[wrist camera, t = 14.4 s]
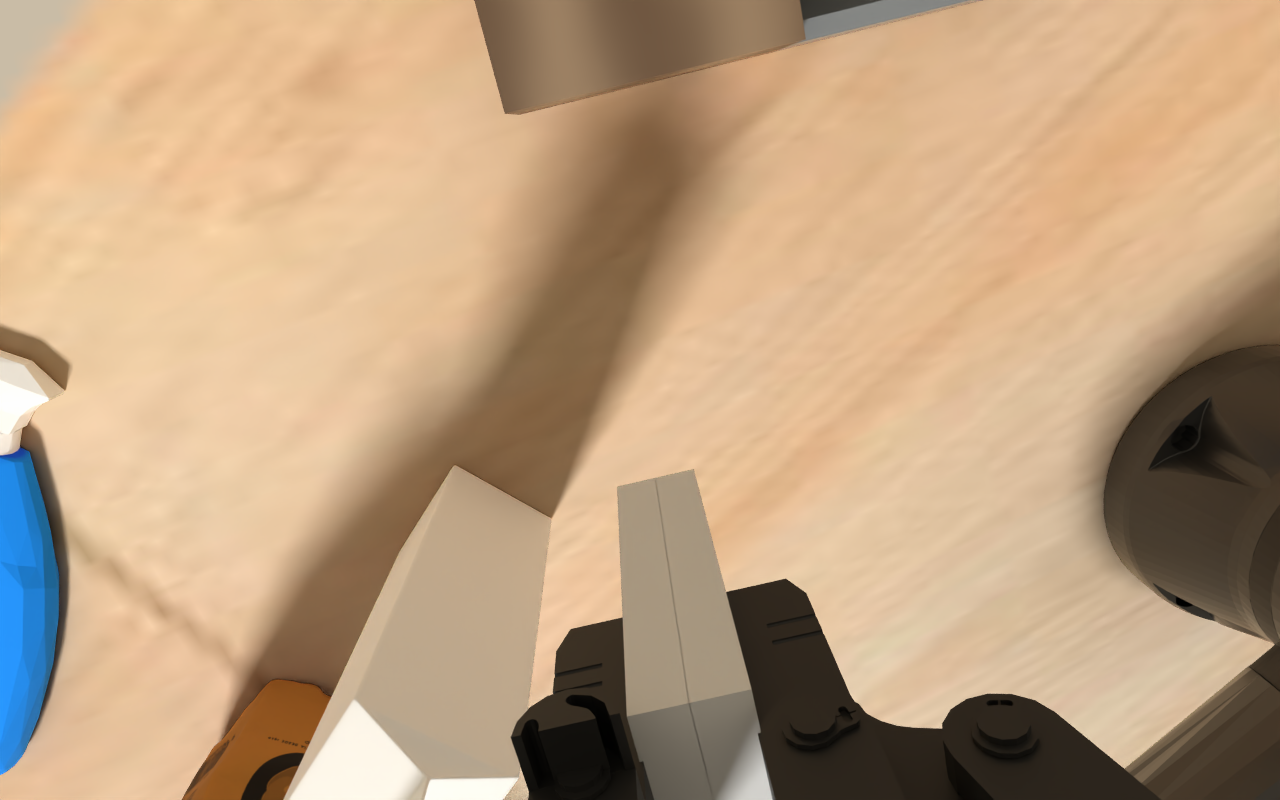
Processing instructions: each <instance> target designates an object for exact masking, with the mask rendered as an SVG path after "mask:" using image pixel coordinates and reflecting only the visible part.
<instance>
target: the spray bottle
mask: <svg viewBox="0 0 1280 800" xmlns="http://www.w3.org/2000/svg"><path fill="white" fill-rule="evenodd" d="M64 391H65V390H64V389H62V388H61V387H60V386H59V385H58V384H57V383H56V382H55V381H54V380H53V379H51V378H50V377H49V376H48V375H47V374H46V373H45V372H44V371H43V370H42V369H40V368H39V367H38V366H37V365H36V364H35V363H34V362H33V361H31V360H28V359H25V358H22V357H19V356H16V355H14V354H11V353H8V352H5V351H2V350H0V775H1V774H3V773H5V772H7V771H8V770H9V769H11V768H12V767H13V766H14V765H15V764H16V763H17V762H18V761H19V759H20V758H21V757H22V756H23V754H24V752H25V750H26V748H27V745H28V743H29V740H30V738H31V735H32V733H33V730H34V728H35V725H36V723H37V720H38V718H39V715H40V711H41V707H42V703H43V700H44V696H45V692H46V689H47V685H48V681H49V677H50V674H51V670H52V666H53V662H54V653H55V644H56V635H57V628H58V620H59V570H58V566H57V562H56V558H55V553H54V547H53V541H52V535H51V530H50V526H49V521H48V517H47V513H46V508H45V504H44V501H43V497H42V494H41V490H40V487H39V483H38V480H37V476H36V473H35V469H34V466H33V462H32V459H31V456H30V452H29V451H27V450H25V449H23V448H21V447H20V441H21V434H22V428H23V427H25V426H27V425H28V423H29V421H30V419H31V417H32V415H33V413H34V411H35V410H36V409H37V408H38V407H39V406H40V405H41V404H42V403H44V402H47V401H49V400H51V399H53V398H56V397H58V396H60V395H62V394H64Z"/></svg>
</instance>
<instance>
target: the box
mask: <svg viewBox="0 0 1280 800" xmlns="http://www.w3.org/2000/svg"><path fill="white" fill-rule="evenodd" d="M977 1H981V0H800V5H801V11H802V18H803V24H804V31H805V37H806V39H805V40H803V41H800V42H798V43H795V44H792V45H790V46H787V47H785V48H782V49H780V50H783V49H787V48H791V47H795V46H799V45H803V44H807V43H811V42H815V41H819V40H823V39H827V38H831V37H835V36H839V35H843V34H847V33H851V32H855V31H859V30H863V29H868V28H872V27H876V26H880V25H884V24H888V23H892V22H896V21H900V20H904V19H908V18H912V17H916V16H920V15H924V14H928V13H932V12H936V11H940V10H944V9H948V8H953V7H957V6H961V5H965V4H969V3H973V2H977ZM777 51H778V50H777Z"/></svg>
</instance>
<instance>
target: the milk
mask: <svg viewBox="0 0 1280 800" xmlns="http://www.w3.org/2000/svg"><path fill="white" fill-rule="evenodd" d="M550 528H551V518H550V517H548V516H546V515H544V514H542V513H541V512H539V511H537V510H535V509H533V508H532V507H530V506H528V505H526V504H524V503H523V502H521V501H519V500H517V499H515V498H514V497H512V496H510V495H508V494H507V493H505V492H503V491H501V490H499V489H498V488H496V487H494V486H492V485H490V484H489V483H487V482H485V481H483V480H481V479H480V478H478V477H476V476H474V475H472V474H471V473H469V472H467V471H465V470H463V469H462V468H460V467H458V466H456V465H454V466H453V467H452V469H451V470H450V472H449V473H448V475H447V477H446V478H445V480H444V481H443V483H442V485H441V486H440V488H439V489H438V491H437V493H436V494H435V496H434V497H433V499H432V501H431V502H430V504H429V505H428V507H427V508H426V510H425V512H424V513H423V515H422V516H421V518H420V520H419V521H418V523H417V524H416V526H415V528H414V529H413V531H412V532H411V534H410V536H409V537H408V539H407V540H406V542H405V543H404V545H403V547H402V548H401V550H400V552H399V554H398V556H397V558H396V560H395V562H394V565H393V567H392V569H391V571H390V573H389V575H388V577H387V580H386V582H385V584H384V586H383V588H382V590H381V592H380V594H379V597H378V599H377V601H376V603H375V605H374V607H373V609H372V612H371V614H370V616H369V618H368V620H367V622H366V624H365V626H364V629H363V631H362V633H361V635H360V637H359V639H358V641H357V644H356V646H355V648H354V650H353V652H352V654H351V656H350V658H349V661H348V663H347V665H346V667H345V669H344V671H343V673H342V676H341V678H340V680H339V682H338V684H337V686H336V688H335V690H334V693H333V695H332V697H331V699H330V701H329V703H328V705H327V708H326V710H325V712H324V714H323V716H322V718H321V720H320V722H319V725H318V727H317V729H316V731H315V733H314V735H313V737H312V740H311V742H310V744H309V746H308V748H307V750H306V752H305V754H304V757H303V759H302V761H301V763H300V765H299V767H298V769H297V772H296V774H295V776H294V778H293V780H292V782H291V784H290V786H289V789H288V791H287V793H286V795H285V797H284V799H283V800H503V799H504V798H505V796H506V795H507V794H508V792H509V791H510V789H511V788H512V787H513V785H514V784H515V783H516V781H517V780H518V778H519V774H520V764H519V761H518V758H517V755H516V752H515V749H514V746H513V743H512V740H511V735H512V732H513V730H514V727H515V725H516V722H517V721H518V720H519V719H520V718H521V717H522V716H523V714H524V713H525V712H526V711H527V710H528V703H529V695H530V687H531V679H532V671H533V663H534V655H535V648H536V640H537V632H538V624H539V616H540V608H541V600H542V592H543V584H544V576H545V568H546V560H547V552H548V544H549V536H550Z"/></svg>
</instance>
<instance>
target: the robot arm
mask: <svg viewBox="0 0 1280 800" xmlns="http://www.w3.org/2000/svg"><path fill="white" fill-rule="evenodd" d="M617 494H618V518H619V542H620V566H621V589H622V613H623V618H619V619H614V620H610V621H605V622H601V623H596V624H592V625H587V626H583V627H578V628H574V629H571V630H570V631H569V633H568V634H567V636H566V637H565V639H564V640H563V642H562V643H561V645H560V647H559V648H558V650H557V651H556V662H555V678H554V686H553V695H550V696H547V697H545V698H544V699H542V700H541V701H539V702H538V703H536V704H535V705H533V706H531V707H530V708H529V709H528V710H527V711H526V712H525V713H524V714H523V716H522V717H521V718H520V719H519V720H518V721H517V722H516V725H515V727H514V730H513V732H512V735H511V740H512V743H513V746H514V749H515V752H516V755H517V758H518V761H519V764H520V767H521V769H522V772H523V775H524V778H525V781H526V784H527V787H528V790H529V798H528V800H1280V345H1265V346H1256V347H1249V348H1244V349H1240V350H1236V351H1232V352H1229V353H1226V354H1223V355H1220V356H1217V357H1215V358H1213V359H1210V360H1208V361H1206V362H1204V363H1202V364H1200V365H1198V366H1196V367H1194V368H1192V369H1191V370H1189V371H1187V372H1186V373H1184V374H1183V375H1181V376H1179V377H1178V378H1177V379H1175V380H1174V381H1173V382H1171V383H1170V384H1169V385H1167V386H1166V387H1165V388H1164V389H1163V390H1161V391H1160V392H1159V393H1158V394H1157V395H1156V396H1155V397H1154V398H1153V399H1152V400H1151V401H1150V402H1149V403H1148V404H1147V405H1146V406H1145V407H1144V408H1143V409H1142V411H1141V412H1140V413H1139V414H1138V415H1137V417H1136V418H1135V419H1134V421H1133V422H1132V423H1131V425H1130V426H1129V428H1128V429H1127V431H1126V433H1125V434H1124V436H1123V438H1122V440H1121V441H1120V443H1119V445H1118V447H1117V449H1116V452H1115V454H1114V456H1113V459H1112V462H1111V464H1110V468H1109V471H1108V475H1107V479H1106V485H1105V491H1104V516H1105V523H1106V528H1107V532H1108V535H1109V538H1110V541H1111V543H1112V546H1113V548H1114V550H1115V552H1116V553H1117V555H1118V556H1119V558H1120V560H1121V561H1122V562H1123V564H1124V565H1125V566H1126V567H1127V568H1128V569H1129V570H1130V572H1131V573H1133V574H1134V575H1135V576H1136V577H1137V578H1138V579H1139V580H1141V581H1142V582H1143V583H1144V584H1145V585H1146V586H1148V587H1149V588H1150V589H1151V590H1152V591H1154V592H1155V593H1156V594H1157V595H1158V596H1160V597H1161V598H1162V599H1164V600H1165V601H1167V602H1169V603H1170V604H1172V605H1174V606H1175V607H1177V608H1179V609H1181V610H1183V611H1185V612H1188V613H1190V614H1193V615H1196V616H1199V617H1202V618H1205V619H1208V620H1213V621H1216V622H1218V623H1220V624H1222V625H1224V626H1227V627H1230V628H1232V629H1235V630H1238V631H1241V632H1243V633H1246V634H1249V635H1252V636H1255V637H1258V638H1261V639H1263V640H1266V641H1269V642H1272V643H1274V644H1275V645H1274V646H1273V647H1272V648H1271V649H1269V650H1268V651H1267V652H1266V653H1265V654H1264V655H1262V656H1261V657H1260V658H1259V659H1258V660H1256V661H1255V662H1254V663H1253V664H1252V665H1250V666H1248V667H1247V668H1246V669H1244V670H1243V671H1242V672H1241V673H1240V674H1238V675H1237V676H1236V677H1235V678H1234V679H1232V680H1231V681H1230V682H1229V683H1228V684H1226V685H1225V686H1224V687H1223V688H1222V689H1220V690H1219V691H1218V692H1217V693H1216V694H1214V695H1213V696H1212V697H1211V698H1209V699H1208V700H1207V701H1206V702H1205V703H1203V704H1202V705H1201V706H1200V707H1199V708H1197V709H1196V710H1195V711H1194V712H1193V713H1191V714H1190V715H1189V716H1188V717H1187V718H1185V719H1184V720H1183V721H1182V722H1181V723H1179V724H1178V725H1177V726H1176V727H1174V728H1173V729H1172V730H1171V731H1170V732H1168V733H1167V734H1166V735H1165V736H1164V737H1162V738H1161V739H1160V740H1159V741H1158V742H1156V743H1155V744H1154V745H1153V746H1152V747H1150V748H1149V749H1148V750H1147V751H1146V752H1144V753H1143V754H1142V755H1141V756H1139V757H1138V758H1137V759H1136V760H1135V761H1133V762H1132V763H1131V764H1130V765H1129V766H1127V767H1126V768H1125V769H1124V768H1122V767H1121V766H1120V765H1119V764H1118V763H1116V762H1115V761H1114V760H1113V759H1111V758H1110V757H1109V756H1108V755H1107V754H1105V753H1104V752H1103V751H1102V750H1100V749H1099V748H1098V747H1097V746H1096V745H1094V744H1093V743H1092V742H1091V741H1090V740H1088V739H1087V738H1086V737H1085V736H1083V735H1082V734H1081V733H1080V732H1079V731H1077V730H1076V729H1075V728H1074V727H1072V726H1071V725H1070V724H1069V723H1068V722H1066V721H1065V720H1064V719H1063V718H1061V717H1060V716H1059V715H1058V714H1057V713H1055V712H1054V711H1052V710H1050V709H1049V708H1047V707H1045V706H1044V705H1042V704H1040V703H1038V702H1037V701H1035V700H1031V699H1028V698H1024V697H1020V696H1017V695H1013V694H985V695H981V696H977V697H973V698H969V699H966V700H965V701H963V702H961V703H960V704H958V705H957V706H955V707H954V708H952V709H951V710H950V712H949V713H948V715H947V717H946V718H945V720H944V722H943V723H942V729H933V728H911V727H902V726H896V725H892V724H889V723H885V722H882V721H880V720H878V719H876V718H874V717H872V716H870V715H868V714H867V713H865V711H864V710H863V709H862V708H861V706H860V705H859V704H858V703H856V702H854V700H853V699H852V697H851V695H850V693H849V691H848V689H847V686H846V684H845V682H844V679H843V677H842V675H841V673H840V670H839V668H838V666H837V663H836V661H835V659H834V656H833V654H832V652H831V649H830V647H829V645H828V642H827V640H826V638H825V636H824V634H823V632H822V629H821V626H820V624H819V622H818V619H817V617H816V616H815V612H814V610H813V608H812V605H811V603H810V601H809V598H808V596H807V594H806V593H805V592H804V591H802V590H801V589H800V588H798V587H797V586H795V585H794V584H793V583H791V582H790V581H788V580H787V579H783V580H778V581H774V582H769V583H765V584H760V585H756V586H751V587H747V588H742V589H738V590H733V591H729V592H726V590H725V587H724V583H723V579H722V575H721V571H720V568H719V564H718V560H717V556H716V552H715V549H714V545H713V541H712V537H711V533H710V530H709V526H708V522H707V518H706V514H705V511H704V507H703V503H702V499H701V495H700V492H699V488H698V484H697V480H696V476H695V473H694V469H693V470H688V471H684V472H680V473H675V474H671V475H667V476H662V477H658V478H653V479H649V480H645V481H640V482H636V483H632V484H627V485H623V486H618V487H617Z"/></svg>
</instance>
